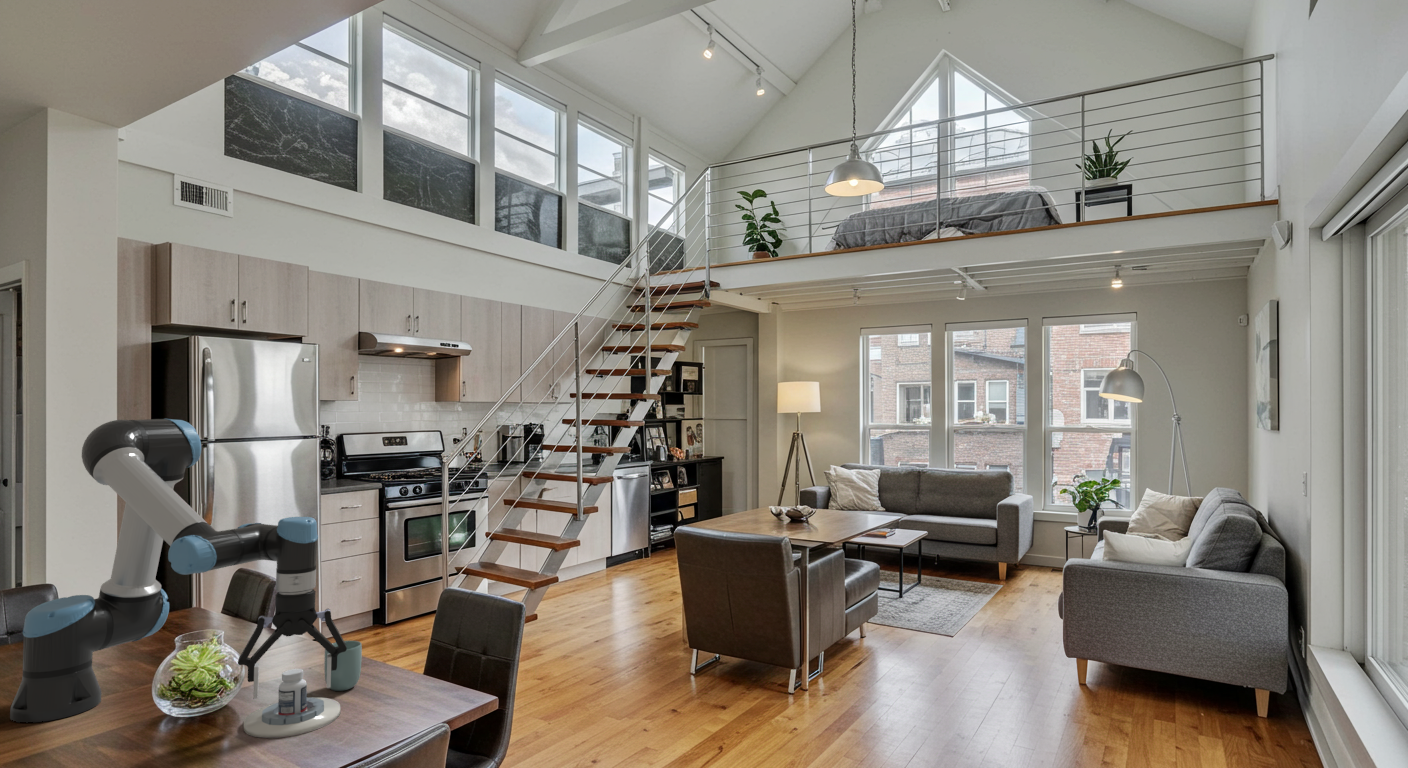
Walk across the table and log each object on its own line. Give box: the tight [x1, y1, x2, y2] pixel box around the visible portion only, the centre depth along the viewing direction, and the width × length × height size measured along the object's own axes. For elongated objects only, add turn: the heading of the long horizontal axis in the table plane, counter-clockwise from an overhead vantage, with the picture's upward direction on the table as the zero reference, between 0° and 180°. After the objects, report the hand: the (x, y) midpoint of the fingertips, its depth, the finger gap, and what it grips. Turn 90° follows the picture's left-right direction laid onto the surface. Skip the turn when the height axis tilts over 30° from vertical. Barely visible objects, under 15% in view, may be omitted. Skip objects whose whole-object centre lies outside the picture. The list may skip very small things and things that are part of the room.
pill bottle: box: [277, 668, 308, 715], centre depth 159 cm, size 5×5×9 cm
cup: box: [323, 640, 363, 692], centre depth 177 cm, size 8×8×10 cm
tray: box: [243, 696, 341, 739], centre depth 159 cm, size 18×18×2 cm
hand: (292, 691), depth 159 cm, fingers open, 13 cm apart
